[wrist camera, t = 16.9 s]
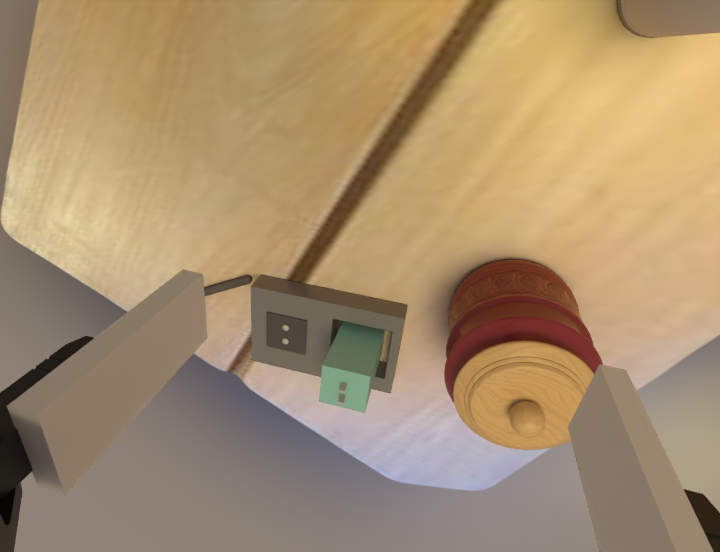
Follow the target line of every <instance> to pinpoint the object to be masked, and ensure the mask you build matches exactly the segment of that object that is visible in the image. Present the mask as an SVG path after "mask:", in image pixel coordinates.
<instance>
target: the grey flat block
mask: <svg viewBox="0 0 720 552" xmlns="http://www.w3.org/2000/svg"><path fill="white" fill-rule="evenodd" d="M407 306H408V305H405V304H400V303H396V302H391V301H386V300H381V299H376V298H372V297H367V296H362V295H357V294H352V293H347V292H343V291H338V290H333V289H328V288H323V287H318V286H314V285H309V284H304V283H299V282H294V281H290V280H285V279H280V278H275V277H270V276H265V275H261V276H260V277H259V278H258V279H257V280H256V281H255V282H254V283H253V285H252V286H251V322H252V361H257V362H261V363H265V364H269V365H273V366H278V367H282V368H286V369H290V370H294V371H299V372H303V373H307V374H311V375H315V376H320V377H321V375H322V365H323V363H324V361H325V358H326V356H327V354H328V352H329V350H330V348H331V346H332V343H333V341H334V339H335V337H336V335H337V326H338V320H341V321H346V322H350V323H355V324H360V325H364V326H369V327H373V328H378V329H383V330H387V331H392V332H393V334H392V339H391V345H390V351H389V356H388V362H387V363H385V362H380V361H379V365H378V368H377V372H376V375H375V379H374V382H373V386H372V389H374V390H378V391H383V392H387V393H391V389H392V384H393V380H394V375H395V370H396V365H397V359H398V354H399V349H400V343H401V338H402V333H403V327H404V322H405V317H406V311H407Z"/></svg>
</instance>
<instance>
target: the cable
mask: <svg viewBox="0 0 720 552" xmlns="http://www.w3.org/2000/svg"><path fill="white" fill-rule="evenodd" d="M251 281H252V279H251V277H250V276H244V277H241V278H237V279H234V280H230V281H227V282H224V283H220V284H217V285H213V286H210V287H206V288H204V294H205V296H207V295H211V294H214V293H218V292H221V291H225V290H228V289H232V288H235V287H239V286H242V285H246V284H249V283H251Z"/></svg>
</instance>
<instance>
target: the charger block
mask: <svg viewBox="0 0 720 552" xmlns="http://www.w3.org/2000/svg"><path fill="white" fill-rule="evenodd" d="M384 336H385V330H383V329H378V328H373V327H369V326H364V325H360V324H355V323H350V322H346V321H343V322H342V324H341V326H340V329H339V331H338V333H337V335H336V337H335V339H334V341H333V343H332V346H331V348H330V350H329V352H328V354H327V356H326V358H325V361H324V363H323V365H322V375H321V386H320V398H319V401H320V402H324V403H328V404H332V405H336V406H340V407H344V408H348V409H352V410H356V411H360V412H364V413H365V410H366V406H367V403H368V399H369V396H370V393H371V389H372V386H373V382H374V379H375V375H376V372H377V368H378V365H379V361H380V358H381V354H382V348H383V342H384Z"/></svg>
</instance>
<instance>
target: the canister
mask: <svg viewBox="0 0 720 552" xmlns="http://www.w3.org/2000/svg"><path fill="white" fill-rule="evenodd" d="M449 327H450V331H449V338H448V341H447V347H446V357H447V361H446V365H445V372H444V376H445V384H446V388H447V391H448V393H449V395H450V397H451V399H452V401H453V402H454V404H455V407H456V410H457V412H458V414H459V416H460V417H461V419H462V420H463V422H464V423H465V424H466V425H467V426H468V427H469V428H470V429H471V430H472V431H474V432H475V433H476V434H478V435H479V436H481V437H482V438H484V439H486V440H488V441H490V442H492V443H495V444H498V445H501V446H504V447H508V448H513V449H522V450H538V449H546V448H551V447H555V446H558V445H561V444H564V443H566V442H569V441H571V438H570V434H569V430H568V425H569V423H570V421H571V420H572V418H573V416H574V414H575V412H576V410H577V408H578V406H579V404H580V402H581V400H582V398H583V396H584V394H585V392H586V390H587V388H588V386H589V384H590V382H591V380H592V378H593V376H594V374H595V372H596V370H597V368H598V366H599V364H601V365H603V363H602V360H601V358H600V356H599V354H598V352H597V351H596V349H595V347H594V345H593V341H592V338H591V335H590V333H589V331H588V329H587V328H586V326H585V325H584V324H583V322H582V319H581V317H580V315H579V309H578V305H577V302H576V300H575V298H574V295H573V293H572V292H571V290H570V288H569V287H568V286H567V285H566V283H565V282H564V281H563V280H562V279H561V278H559V277H558V276H557V275H556V274H555V273H554V272H552V271H551V270H549V269H548V268H546V267H544V266H542V265H540V264H537V263H534V262H531V261H526V260H517V259H509V260H500V261H495V262H492V263H489V264H486V265H484V266H482V267H480V268H478V269H476V270H475V271H473V272H472V273H471V274H469V275H468V276H467V277H466V278H465V279H464V280H463V281H462V283H461V284H460V285H459V287H458V289H457V290H456V292H455V294H454V296H453V298H452V301H451V304H450V309H449Z"/></svg>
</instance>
